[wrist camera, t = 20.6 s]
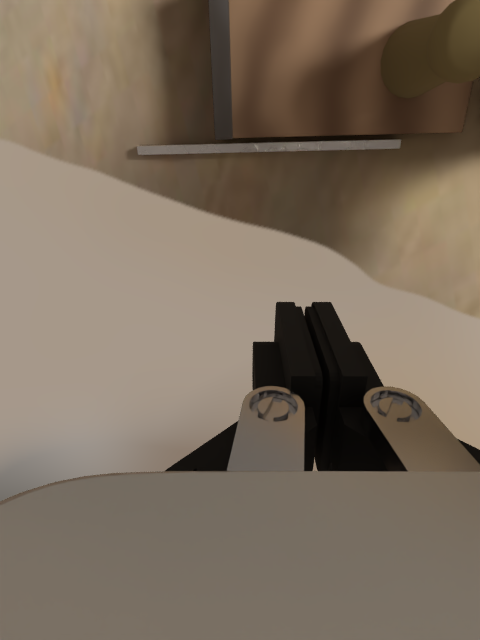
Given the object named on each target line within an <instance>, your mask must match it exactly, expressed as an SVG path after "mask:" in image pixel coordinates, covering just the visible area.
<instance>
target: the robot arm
mask: <svg viewBox="0 0 480 640" xmlns="http://www.w3.org/2000/svg"><path fill="white" fill-rule="evenodd" d="M314 457H315V462H316V466H317V470H318V471H312V470H313V464H314ZM0 640H480V450H479V449H477V448H475V447H472V446H471V445H469V444H467V443H465V442H463V441H460V440H459V439H457V438H456V437H455V436H454V435H453V434H452V433H451V432H450V431H449V430H448V428H447V427H446V426H445V425H444V424H443V423H442V422H441V421H440V419H439V418H438V417H437V416H436V415H435V414H434V413H433V411H432V410H431V409H430V408H429V407H428V406H427V405H426V404H425V402H423V401H422V400H421V399H420V398H419V397H418V396H416V395H414V394H412V393H411V392H408V391H406V390H403V389H400V388H395V387H384V386H383V384H382V382H381V380H380V379H379V377H378V375H377V373H376V371H375V369H374V367H373V366H372V364H371V362H370V360H369V359H368V356H367V354H366V353H365V351H364V349H363V347H362V345H361V344H360V343H359V342H351V341H350V339H349V338H348V335H347V333H346V332H345V329H344V327H343V326H342V323H341V321H340V319H339V318H338V315H337V314H336V311H335V309H334V307H333V305H332V304H331V302H313V303H312V306H311V307H306V308H305V316H304V314H303V311H302V308H301V307H296V306H295V303H294V302H277V303H276V315H275V337H274V342H253V391H251V392H250V393H249V394H247V395H246V397H245V399H244V401H243V404H242V408H241V412H240V416H239V421H237V422H236V423H234V424H233V425H231V426H230V427H228V428H227V429H226V430H224V431H223V432H221V433H220V434H218V435H217V436H216V437H214V438H212V439H211V440H209V441H208V442H206V443H205V444H203V445H202V446H200V447H199V448H198V449H196V450H195V451H193V452H192V453H191V454H189V455H187V456H186V457H184V458H183V459H181V460H180V461H178V462H177V463H175V464H174V465H172V466H171V467H170V468H168V469H167V470H166V471H163V472H131V473H110V474H100V475H92V476H84V477H79V478H73V479H68V480H63V481H58V482H54V483H50V484H47V485H44V486H41V487H37V488H34V489H31V490H28V491H25V492H22V493H19V494H17V495H14V496H12V497H9V498H7V499H5V500H2V501H0Z"/></svg>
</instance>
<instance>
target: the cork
mask: <svg viewBox="0 0 480 640" xmlns="http://www.w3.org/2000/svg"><path fill="white" fill-rule="evenodd" d="M381 76H382V79H383V82H384V85H385V86H386V87H387V88H388V90H389V91H390V92H391V93H393V94H394V95H396V96H398V97H401V98H413V97H418V96H420V95H422V94H424V93H426V92H428V91H430V90H431V89H433V88H435V87H437V86H439V85H441V84H443V83H445V82H450V83H456V84H458V83H464V82H468V81H473V80H475V79H477V78H479V77H480V0H455V1H453V2H452V3H450V4H449V5H448V6H447V8H446V9H445V10H444V11H443V12H442V13H441V14H438V15H434V16H430V17H425V18H421V19H417V20H412V21H409V22H407V23H405V24H404V25H402V26H400V27H399V28H398V29H397V30H396V31H395V32H394V33H393V34H392V35H391V36H390V38H389V40H388V42H387V43H386V45H385V47H384V49H383V53H382V57H381Z"/></svg>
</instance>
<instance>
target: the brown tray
mask: <svg viewBox="0 0 480 640" xmlns="http://www.w3.org/2000/svg"><path fill="white" fill-rule="evenodd" d="M453 1H455V0H209V21H210V42H211V63H212V84H213V105H214V127H215V140H224V139H233V138H253V137H293V136H333V135H373V134H413V133H453V132H462V131H463V126H464V121H465V117H466V112H467V107H468V103H469V98H470V94H471V89H472V84H473V81H468V82H464V83H458V84H456V83H450V82H445V83H443V84H441V85H439V86H437V87H435V88H433V89H431V90H430V91H428V92H426V93H424V94H422V95H420V96H418V97H413V98H401V97H398V96H396V95H394V94H393V93H391V92H390V91H389V90H388V88H387V87H386V86H385V85H384V82H383V79H382V76H381V57H382V53H383V49H384V47H385V45H386V43H387V42H388V40H389V38H390V36H391V35H392V34H393V33H394V32H395V31H396V30H397V29H398V28H399V27H400V26H402V25H404V24H405V23H407V22H409V21H412V20H417V19H421V18H425V17H430V16H434V15H438V14H441V13H442V12H443V11H444V10H445V9H446V8H447V6H448V5H449V4H450V3H452V2H453Z"/></svg>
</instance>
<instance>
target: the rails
mask: <svg viewBox="0 0 480 640" xmlns="http://www.w3.org/2000/svg"><path fill="white" fill-rule="evenodd" d="M400 144H401V139H377V140H337V141H297V142H257V143H217V144H177V145H140V146H137V151H138V155H155V154H196V153H236V152H277V151H317V150H357V149H398V148H400Z"/></svg>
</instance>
